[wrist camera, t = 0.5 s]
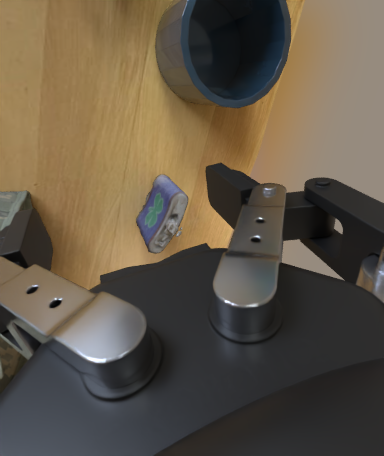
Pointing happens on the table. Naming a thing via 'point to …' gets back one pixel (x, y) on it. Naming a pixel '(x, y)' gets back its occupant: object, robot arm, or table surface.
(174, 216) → the flask
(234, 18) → the pot
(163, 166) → the table surface
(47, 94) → the table surface
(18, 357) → the lunch bag
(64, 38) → the table surface
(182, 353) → the robot arm
